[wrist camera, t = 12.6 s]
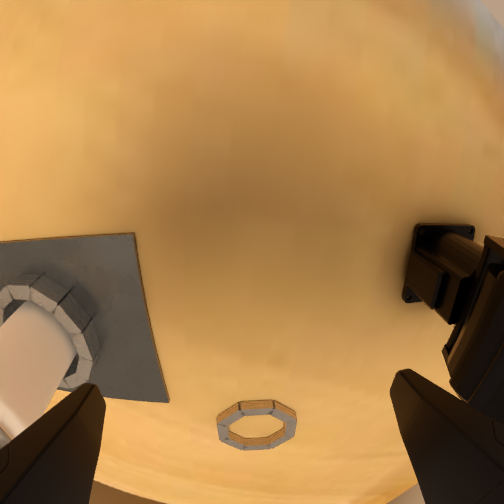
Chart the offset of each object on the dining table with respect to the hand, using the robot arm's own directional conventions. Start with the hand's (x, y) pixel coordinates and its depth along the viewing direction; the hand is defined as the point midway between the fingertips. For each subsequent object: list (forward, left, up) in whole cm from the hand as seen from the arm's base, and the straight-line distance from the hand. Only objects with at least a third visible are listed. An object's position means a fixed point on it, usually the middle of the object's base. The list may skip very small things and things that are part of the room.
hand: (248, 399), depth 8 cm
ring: (-1, +19, -13) cm, 23 cm away
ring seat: (+17, +7, -13) cm, 23 cm away
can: (+17, +7, -13) cm, 22 cm away
